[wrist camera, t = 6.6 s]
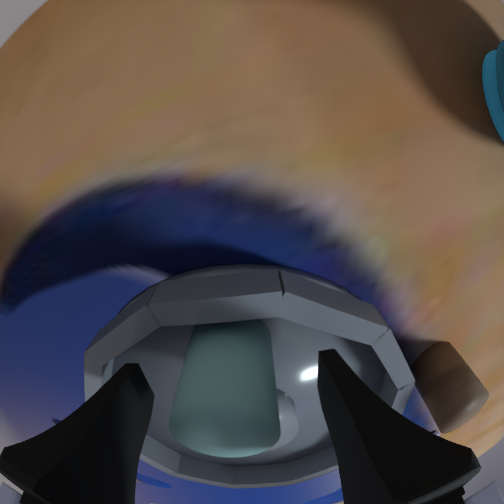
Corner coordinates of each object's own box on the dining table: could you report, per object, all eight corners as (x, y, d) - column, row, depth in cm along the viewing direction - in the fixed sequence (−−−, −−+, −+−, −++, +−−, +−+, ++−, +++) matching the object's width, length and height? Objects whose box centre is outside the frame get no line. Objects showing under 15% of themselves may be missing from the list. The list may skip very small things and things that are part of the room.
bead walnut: (444, 373, 15) (474, 419, 11) (404, 387, 15) (432, 440, 11) (458, 335, 14) (497, 383, 9) (417, 349, 14) (453, 406, 9)
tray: (366, 442, 18) (374, 467, 15) (160, 457, 19) (154, 482, 16) (412, 241, 12) (446, 265, 9) (58, 282, 12) (29, 308, 10)
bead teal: (274, 366, 13) (282, 454, 8) (201, 371, 13) (186, 456, 8) (267, 304, 11) (278, 399, 7) (183, 312, 12) (152, 402, 7)
